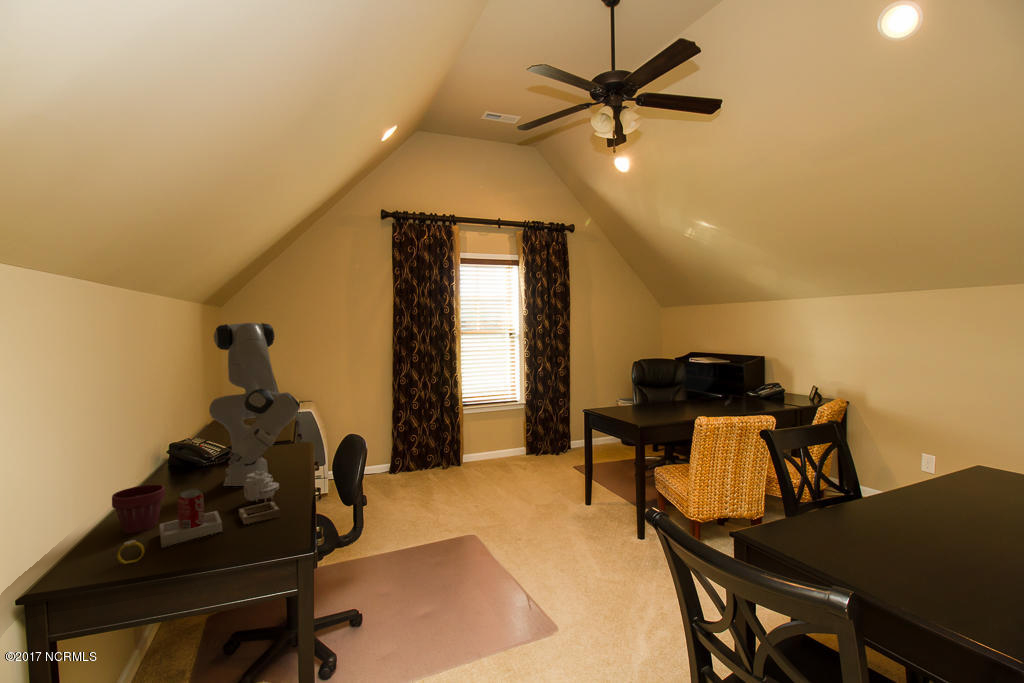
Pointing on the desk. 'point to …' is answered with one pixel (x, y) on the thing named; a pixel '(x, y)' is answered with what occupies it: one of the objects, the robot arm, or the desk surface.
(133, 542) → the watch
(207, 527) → the tray
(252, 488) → the mechanical part
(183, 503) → the soda can
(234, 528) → the desk surface
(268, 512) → the can holder
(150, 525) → the plant pot
